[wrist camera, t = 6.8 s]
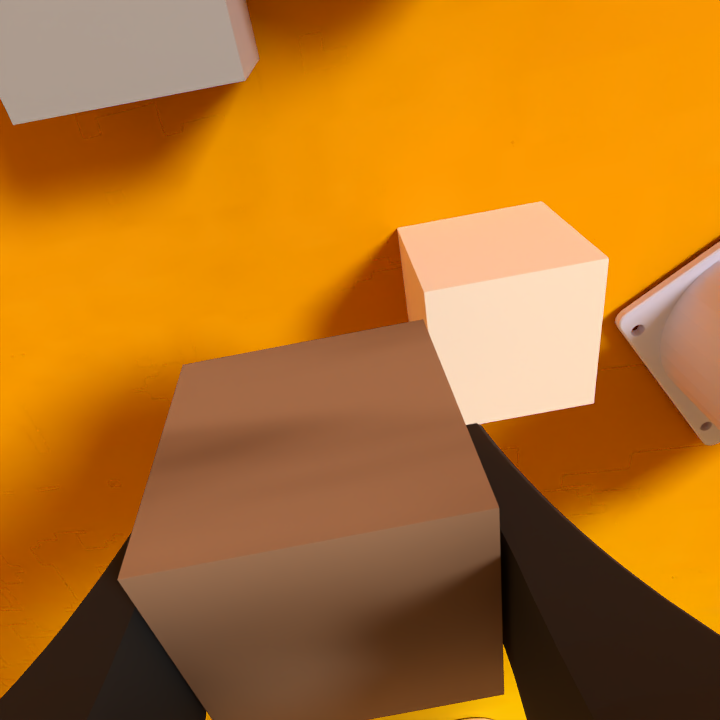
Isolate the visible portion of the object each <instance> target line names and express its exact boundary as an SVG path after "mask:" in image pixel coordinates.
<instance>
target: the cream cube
mask: <svg viewBox="0 0 720 720" xmlns="http://www.w3.org/2000/svg"><path fill="white" fill-rule="evenodd" d="M397 232H398V240H399V248H400V256H401V264H402V272H403V280H404V288H405V296H406V304H407V312H408V320H409V322H411V321H417V320H422V319H423V320H424V322H425V325H426V327H427V330H428V332H429V335H430V337H431V340H432V342H433V345H434V347H435V350H436V352H437V355H438V357H439V360H440V362H441V365H442V367H443V370H444V372H445V375H446V377H447V379H448V382H449V384H450V387H451V389H452V392H453V394H454V397H455V399H456V402H457V404H458V407H459V409H460V412H461V414H462V417H463V419H464V422H465V424H466V425H468V424H473V423H477V424H482V423H488V422H493V421H499V420H504V419H510V418H515V417H521V416H526V415H532V414H537V413H543V412H548V411H554V410H559V409H565V408H571V407H576V406H582V405H587V404H593V403H594V396H595V387H596V377H597V368H598V358H599V348H600V339H601V329H602V320H603V310H604V301H605V291H606V281H607V272H608V262H609V258H608V257H607V256H606V255H605V254H603V253H602V252H601V251H600V250H599V249H597V248H596V247H595V246H594V245H593V244H591V243H590V242H589V241H588V240H587V239H586V238H584V237H583V236H582V235H581V234H580V233H578V232H577V231H576V230H575V229H574V228H572V227H571V226H570V225H569V224H568V223H567V222H565V221H564V220H563V219H562V218H561V217H559V216H558V215H557V214H556V213H555V212H553V211H552V210H551V209H550V208H549V207H548V206H546V205H545V204H544V203H543V202H542V201H541V202H535V203H530V204H524V205H519V206H514V207H508V208H503V209H498V210H492V211H487V212H481V213H476V214H471V215H465V216H460V217H455V218H449V219H444V220H438V221H433V222H428V223H422V224H417V225H412V226H406V227H401V228H397Z"/></svg>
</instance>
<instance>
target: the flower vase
mask: <svg viewBox="0 0 720 720" xmlns="http://www.w3.org/2000/svg"><path fill="white" fill-rule="evenodd" d="M462 720H492V719H486V718H470V719H462Z"/></svg>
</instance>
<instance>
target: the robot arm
mask: <svg viewBox="0 0 720 720" xmlns="http://www.w3.org/2000/svg"><path fill="white" fill-rule="evenodd" d="M615 324H616V326H617V328H618V329H619V330H620V332H621V333H622V334H623V336H624V337H625V338H626V340H627V341H628V342H629V344H630V345H631V346H632V348H633V349H634V351H635V352H636V353H637V355H638V356H639V357H640V359H641V360H642V361H643V363H644V364H645V365H646V367H647V368H648V370H649V371H650V372H651V374H652V375H653V376H654V378H655V379H656V380H657V382H658V383H659V384H660V386H661V387H662V388H663V390H664V391H665V393H666V394H667V395H668V397H669V398H670V399H671V401H672V402H673V403H674V405H675V406H676V407H677V409H678V410H679V412H680V413H681V414H682V416H683V417H684V418H685V420H686V421H687V422H688V424H689V425H690V426H691V428H692V429H693V430H694V432H695V433H696V435H697V436H698V437H699V439H700V440H701V441H702V442H703V443H704V444H705V445H715V444H717V443H719V442H720V241H719V242H718V243H717V244H715V245H714V246H712V247H711V248H709V249H708V250H707V251H705V252H704V253H702V254H701V255H699V256H698V257H697V258H695V259H694V260H692V261H691V262H690V263H688V264H687V265H685V266H684V267H682V268H681V269H680V270H678V271H677V272H675V273H674V274H673V275H671V276H670V277H668V278H667V279H665V280H664V281H663V282H661V283H660V284H658V285H657V286H655V287H654V288H653V289H651V290H650V291H648V292H647V293H646V294H644V295H643V296H641V297H640V298H638V299H637V300H636V301H634V302H633V303H631V304H630V305H629V306H627V307H626V308H624V309H623V310H622V311H621V312H619V313H618V315H617V317H616V319H615ZM637 325H639V327H638V328H637V329H636V330H634V331H632V329H633V328H634V327H635V326H637ZM466 427H467V429H468V432H469V434H470V436H471V439H472V441H473V444H474V446H475V449H476V451H477V454H478V456H479V459H480V461H481V464H482V466H483V469H484V471H485V474H486V476H487V479H488V481H489V484H490V486H491V489H492V491H493V494H494V496H495V498H496V501H497V503H498V506H499V518H500V556H501V594H502V633H503V645H504V647H505V650H506V653H507V656H508V659H509V661H510V664H511V667H512V670H513V673H514V676H515V680H516V683H517V687H518V690H519V694H520V697H521V701H522V704H523V708H524V711H525V715H526V718H527V720H720V635H719V634H717V633H716V632H714V631H713V630H712V629H710V628H709V627H707V626H706V625H704V624H703V623H701V622H700V621H698V620H697V619H695V618H694V617H692V616H691V615H689V614H688V613H686V612H685V611H683V610H682V609H680V608H679V607H677V606H676V605H674V604H673V603H672V602H670V601H669V600H667V599H666V598H664V597H663V596H661V595H660V594H659V593H657V592H656V591H655V590H653V589H652V588H651V587H649V586H648V585H647V584H645V583H644V582H643V581H641V580H640V579H639V578H637V577H636V576H635V575H633V574H632V573H631V572H630V571H628V570H627V569H626V568H624V567H623V566H622V565H621V564H619V563H618V562H617V561H616V560H614V559H613V558H612V557H611V556H609V555H608V554H607V553H606V552H605V551H603V550H602V549H601V548H600V547H599V546H597V545H596V544H595V543H594V542H593V541H592V540H590V539H589V538H588V537H587V536H586V535H585V534H584V533H582V532H581V531H580V530H579V529H578V528H577V527H576V526H575V525H574V524H572V523H571V522H570V521H569V520H568V519H567V518H566V517H565V516H564V515H563V514H562V513H561V512H559V511H558V510H557V509H556V508H555V507H554V506H553V505H552V504H551V503H550V502H549V501H548V500H547V499H546V498H545V497H544V496H543V495H542V494H541V493H540V492H539V491H538V490H537V489H536V488H535V487H534V486H533V485H532V484H531V483H530V482H529V481H528V480H527V479H526V478H525V476H524V475H523V474H522V473H521V472H520V471H519V470H518V469H517V468H516V467H515V466H514V464H513V463H512V462H511V461H510V460H509V459H508V458H507V457H506V455H505V454H504V453H503V452H502V451H501V450H500V448H499V447H498V446H497V445H496V444H495V442H494V441H493V440H492V439H491V437H490V436H489V435H488V434H487V432H486V431H485V430H484V428H483V427H482V426H481V425H479V424H477V423H473V424H468V425H466ZM131 534H132V533H131ZM131 534H130V535H129V537H128V538H127V540H126V541H125V543H124V544H123V546H122V547H121V549H120V550H119V551H118V553H117V554H116V556H115V557H114V559H113V560H112V562H111V563H110V564H109V566H108V567H107V569H106V570H105V572H104V573H103V574H102V576H101V577H100V579H99V580H98V581H97V583H96V584H95V585H94V587H93V588H92V589H91V591H90V592H89V593H88V595H87V596H86V597H85V599H84V600H83V601H82V603H81V604H80V605H79V607H78V608H77V609H76V611H75V612H74V613H73V614H72V616H71V617H70V618H69V620H68V621H67V622H66V624H65V625H64V626H63V627H62V629H61V630H60V631H59V632H58V634H57V635H56V636H55V637H54V639H53V640H52V641H51V642H50V643H49V645H48V646H47V647H46V648H45V649H44V651H43V652H42V653H41V654H40V655H39V656H38V658H37V659H36V660H35V661H34V662H33V663H32V664H31V666H30V667H29V668H28V669H27V670H26V671H25V672H24V674H23V675H22V676H21V677H20V678H19V679H18V680H17V682H16V683H15V684H14V685H13V686H12V687H11V688H10V689H9V690H8V691H7V692H6V694H5V695H4V696H3V697H2V698H1V699H0V720H205V718H206V709H205V708H204V707H203V705H202V704H201V702H200V701H199V699H198V698H197V696H196V695H195V693H194V692H193V690H192V689H191V687H190V686H189V684H188V683H187V681H186V680H185V679H184V677H183V676H182V674H181V673H180V671H179V670H178V668H177V667H176V665H175V664H174V662H173V661H172V659H171V658H170V656H169V655H168V653H167V652H166V651H165V649H164V648H163V646H162V645H161V643H160V642H159V640H158V639H157V637H156V636H155V634H154V633H153V631H152V630H151V628H150V627H149V625H148V624H147V623H146V621H145V620H144V618H143V617H142V615H141V614H140V612H139V611H138V609H137V608H136V606H135V605H134V603H133V602H132V600H131V599H130V597H129V596H128V595H127V593H126V592H125V590H124V589H123V587H122V586H121V584H120V583H119V581H118V580H117V579H118V576H119V573H120V570H121V566H122V563H123V560H124V556H125V553H126V550H127V547H128V543H129V540H130V537H131Z"/></svg>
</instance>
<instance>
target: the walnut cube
mask: <svg viewBox="0 0 720 720" xmlns="http://www.w3.org/2000/svg"><path fill="white" fill-rule="evenodd" d="M117 580H118V581H119V583H120V584H121V586H122V587H123V589H124V590H125V592H126V593H127V595H128V596H129V597H130V599H131V600H132V602H133V603H134V605H135V606H136V608H137V609H138V611H139V612H140V614H141V615H142V617H143V618H144V620H145V621H146V623H147V624H148V625H149V627H150V628H151V630H152V631H153V633H154V634H155V636H156V637H157V639H158V640H159V642H160V643H161V645H162V646H163V648H164V649H165V651H166V652H167V653H168V655H169V656H170V658H171V659H172V661H173V662H174V664H175V665H176V667H177V668H178V670H179V671H180V673H181V674H182V676H183V677H184V679H185V680H186V681H187V683H188V684H189V686H190V687H191V689H192V690H193V692H194V693H195V695H196V696H197V698H198V699H199V701H200V702H201V704H202V705H203V707H204V708H205V709H206V711H207V712H208V714H209V715H210V717H211V718H212V720H369V719H374V718H380V717H385V716H390V715H396V714H401V713H407V712H412V711H417V710H423V709H428V708H433V707H439V706H444V705H449V704H455V703H460V702H465V701H471V700H476V699H482V698H487V697H492V696H498V695H503V694H504V671H503V633H502V594H501V556H500V518H499V506H498V503H497V501H496V498H495V496H494V494H493V491H492V489H491V486H490V484H489V481H488V479H487V476H486V474H485V471H484V469H483V466H482V464H481V461H480V459H479V456H478V454H477V451H476V449H475V446H474V444H473V441H472V439H471V436H470V434H469V432H468V429H467V427H466V424H465V422H464V419H463V417H462V414H461V412H460V409H459V407H458V404H457V402H456V399H455V397H454V394H453V392H452V389H451V387H450V384H449V382H448V379H447V377H446V375H445V372H444V370H443V367H442V365H441V362H440V360H439V357H438V355H437V352H436V350H435V347H434V345H433V342H432V340H431V337H430V335H429V332H428V330H427V327H426V325H425V322H424V320H423V319H422V320H417V321H411V322H406V323H401V324H396V325H390V326H385V327H380V328H374V329H369V330H364V331H359V332H353V333H348V334H343V335H338V336H332V337H327V338H322V339H317V340H311V341H306V342H301V343H296V344H290V345H285V346H280V347H275V348H269V349H264V350H259V351H254V352H248V353H243V354H238V355H233V356H227V357H222V358H217V359H212V360H206V361H201V362H196V363H191V364H185V365H183V367H182V370H181V373H180V377H179V380H178V383H177V386H176V390H175V393H174V396H173V400H172V403H171V406H170V409H169V413H168V416H167V419H166V422H165V426H164V429H163V432H162V435H161V439H160V442H159V445H158V449H157V452H156V455H155V458H154V462H153V465H152V468H151V471H150V475H149V478H148V481H147V485H146V488H145V491H144V494H143V498H142V501H141V504H140V507H139V511H138V514H137V517H136V520H135V524H134V527H133V530H132V534H131V537H130V540H129V543H128V547H127V550H126V553H125V556H124V560H123V563H122V566H121V570H120V573H119V576H118V579H117Z"/></svg>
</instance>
